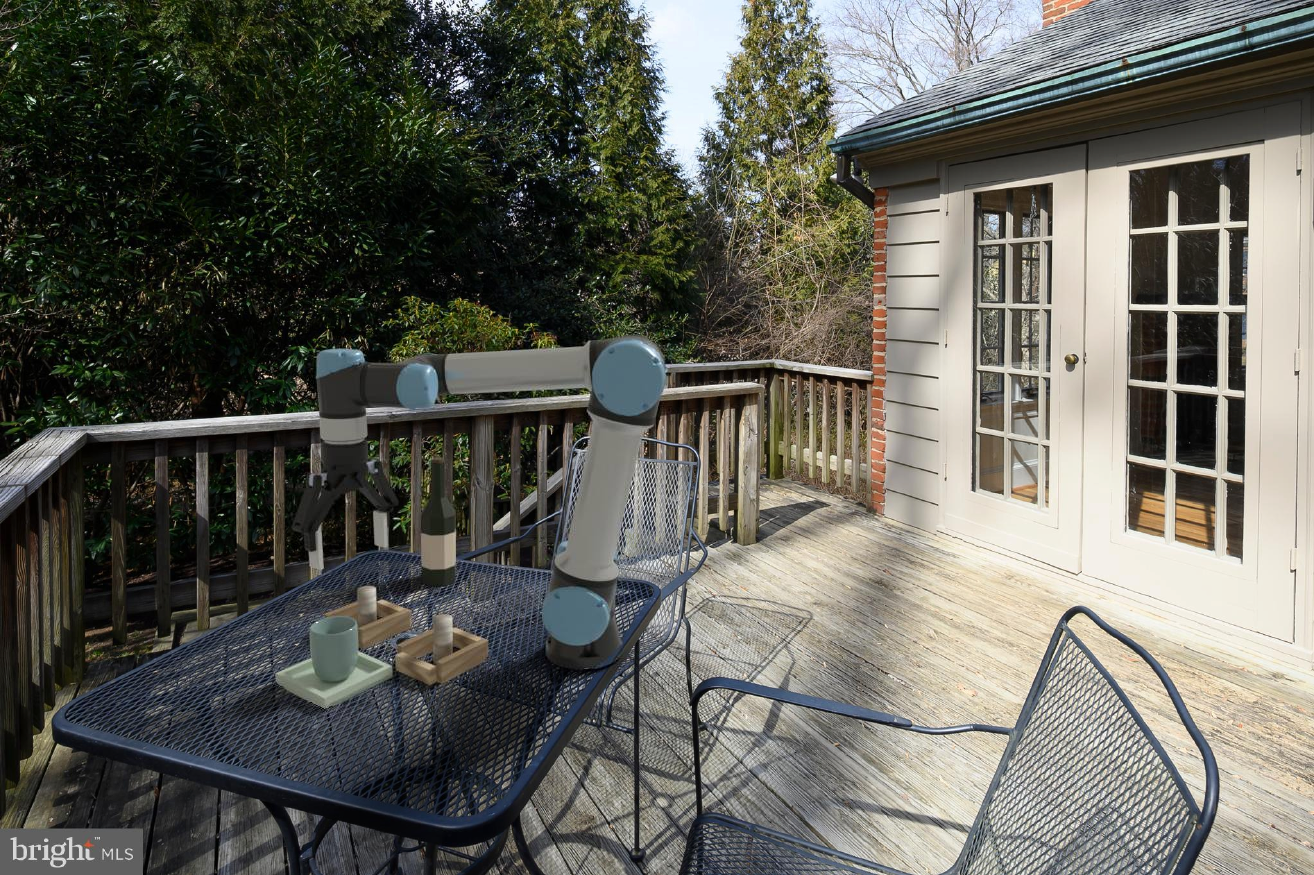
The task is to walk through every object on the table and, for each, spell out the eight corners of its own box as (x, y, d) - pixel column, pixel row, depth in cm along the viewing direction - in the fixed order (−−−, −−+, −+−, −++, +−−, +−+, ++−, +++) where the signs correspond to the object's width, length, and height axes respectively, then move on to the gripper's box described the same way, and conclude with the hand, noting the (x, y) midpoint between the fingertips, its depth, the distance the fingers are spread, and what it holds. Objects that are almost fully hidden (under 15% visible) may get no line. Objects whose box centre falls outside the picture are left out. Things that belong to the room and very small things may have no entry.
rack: (493, 656, 156) (493, 613, 154) (435, 687, 143) (434, 641, 141) (378, 610, 173) (377, 571, 171) (317, 635, 161) (315, 593, 159)
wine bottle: (447, 588, 187) (446, 464, 180) (414, 584, 188) (412, 460, 182) (462, 575, 195) (462, 456, 188) (431, 571, 196) (429, 453, 190)
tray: (392, 677, 146) (392, 666, 146) (325, 710, 135) (324, 698, 134) (343, 654, 153) (343, 644, 153) (275, 684, 142) (275, 673, 141)
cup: (302, 680, 142) (299, 629, 140) (335, 662, 149) (333, 612, 147) (336, 691, 139) (334, 638, 137) (368, 671, 146) (366, 621, 144)
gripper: (387, 426, 149) (391, 533, 154) (263, 449, 128) (272, 573, 133) (415, 431, 146) (419, 541, 150) (292, 455, 125) (300, 583, 129)
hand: (350, 556), depth 141 cm, fingers open, 13 cm apart
